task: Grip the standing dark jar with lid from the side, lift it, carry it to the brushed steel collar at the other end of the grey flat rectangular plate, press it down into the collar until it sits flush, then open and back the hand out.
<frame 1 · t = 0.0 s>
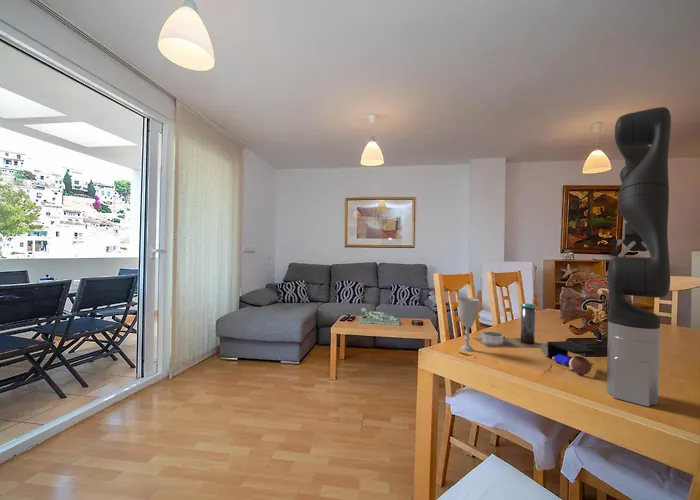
hand: (638, 269, 108), 29 cm above the table, tool pointing down, fingers open, 8 cm apart
dark jar with lid: (527, 342, 115), point 1 cm above the table, touching grey flat rectangular plate
chalice: (466, 353, 105), on the table
figurine character: (565, 368, 94), on the table
grey flat rectangular plate: (508, 345, 115), on the table
collar: (492, 342, 114), resting on grey flat rectangular plate
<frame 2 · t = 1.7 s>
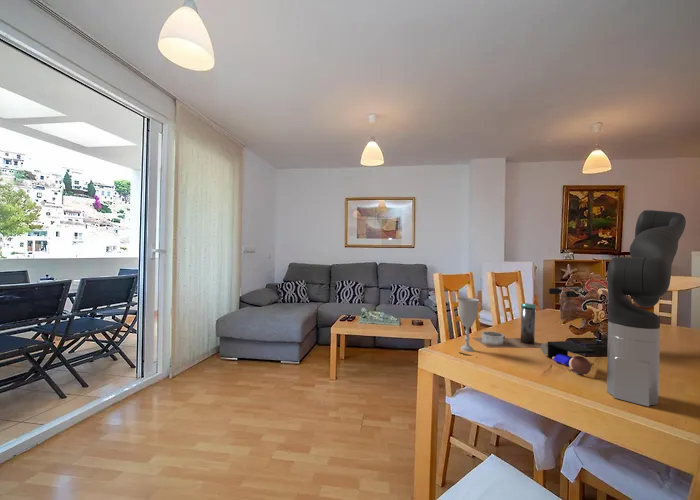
hand: (557, 292, 116), 20 cm above the table, tool horizontal, fingers open, 8 cm apart
nothing on the table moved.
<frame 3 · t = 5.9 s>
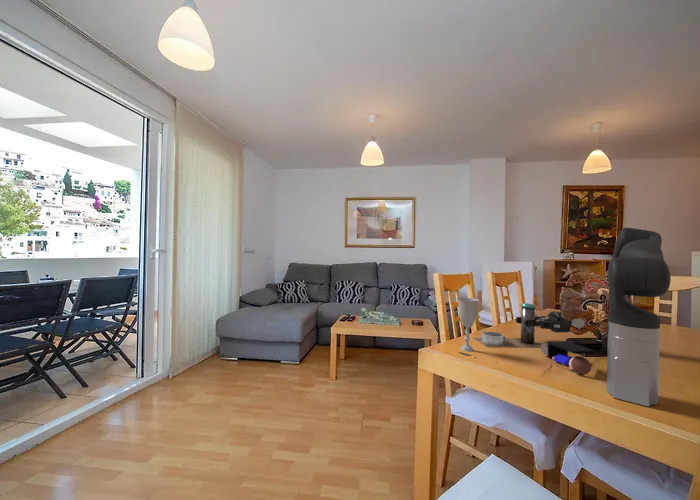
hand: (520, 321, 115), 9 cm above the table, tool horizontal, fingers closed on dark jar with lid, 4 cm apart
dark jar with lid: (527, 342, 115), point 1 cm above the table, touching gripper, grey flat rectangular plate
everything else where it was.
when the fingers open (9 cm above the table, at t = 11.2 s): dark jar with lid stays where it is, resting on grey flat rectangular plate.
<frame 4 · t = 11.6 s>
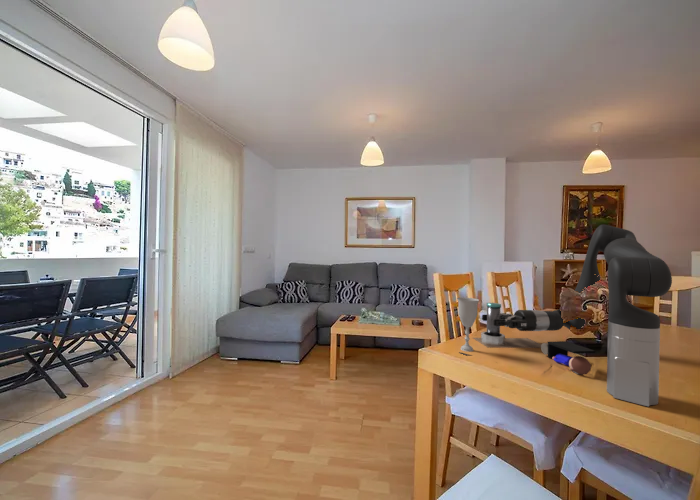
hand: (487, 320, 114), 9 cm above the table, tool horizontal, fingers open, 7 cm apart
dark jar with lid: (492, 342, 114), point 1 cm above the table, touching grey flat rectangular plate
everything else where it was.
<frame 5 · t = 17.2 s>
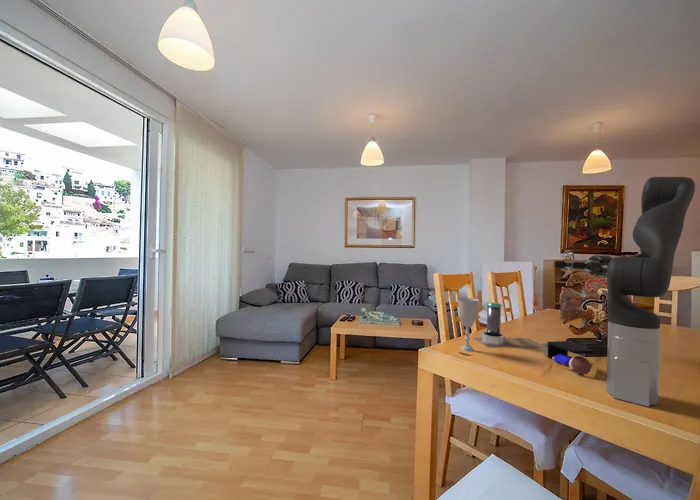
hand: (563, 265, 111), 30 cm above the table, tool horizontal, fingers open, 8 cm apart
nothing on the table moved.
at the end: dark jar with lid 0.1 cm off-centre on the collar, point 0.0 cm above the collar's base; dark jar with lid tilted 1°; the gripper is holding nothing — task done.
